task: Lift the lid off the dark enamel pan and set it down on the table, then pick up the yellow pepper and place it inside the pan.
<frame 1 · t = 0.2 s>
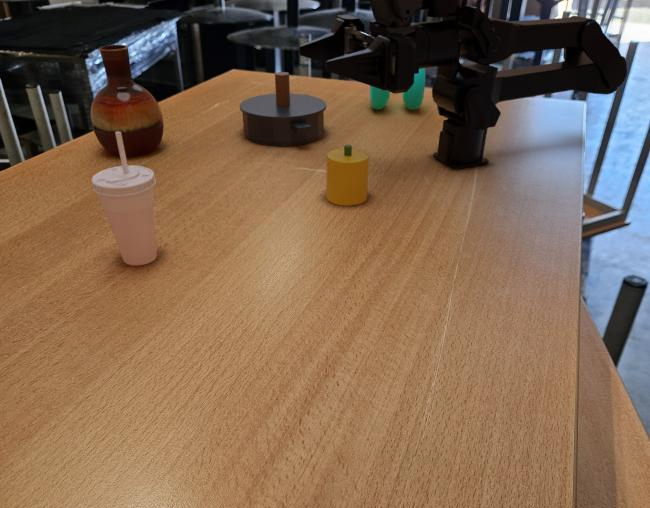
hand: (312, 58, 73), 17 cm above the table, tool horizontal, fingers open, 9 cm apart
pepper: (346, 197, 79), on the table
smoothie: (140, 259, 65), on the table
vase: (133, 150, 95), on the table
teal upright capsules: (394, 109, 115), on the table
pan: (284, 133, 102), on the table
pan lid: (283, 107, 99), point 4 cm above the table, touching pan
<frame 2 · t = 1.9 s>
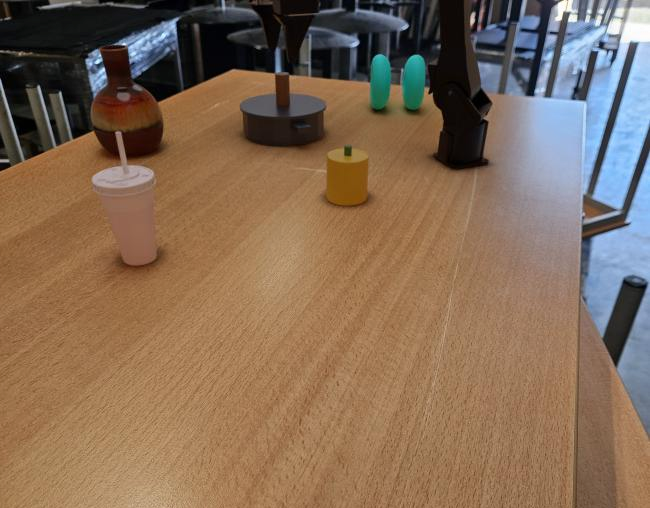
hand: (281, 56, 95), 13 cm above the table, tool pointing down, fingers open, 9 cm apart
nothing on the table moved.
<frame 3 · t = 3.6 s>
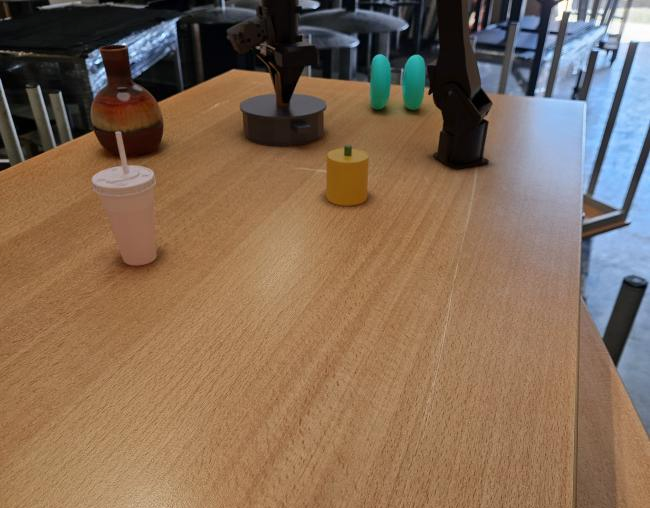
hand: (283, 101, 99), 6 cm above the table, tool pointing down, fingers closed on pan lid, 2 cm apart
pan lid: (283, 107, 99), point 4 cm above the table, touching gripper, pan
everything else where it was.
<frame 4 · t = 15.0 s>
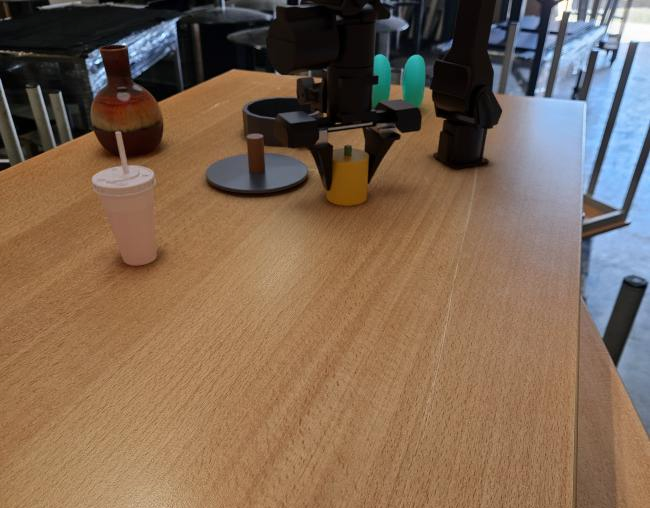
hand: (347, 186, 78), 2 cm above the table, tool pointing down, fingers closed on pepper, 5 cm apart
pepper: (346, 197, 79), on the table, touching gripper
pan lid: (257, 173, 85), point 1 cm above the table
everything else where it was.
when the fingers open (2 cm above the table, at t = 21.7 s): pepper stays where it is, resting on pan.
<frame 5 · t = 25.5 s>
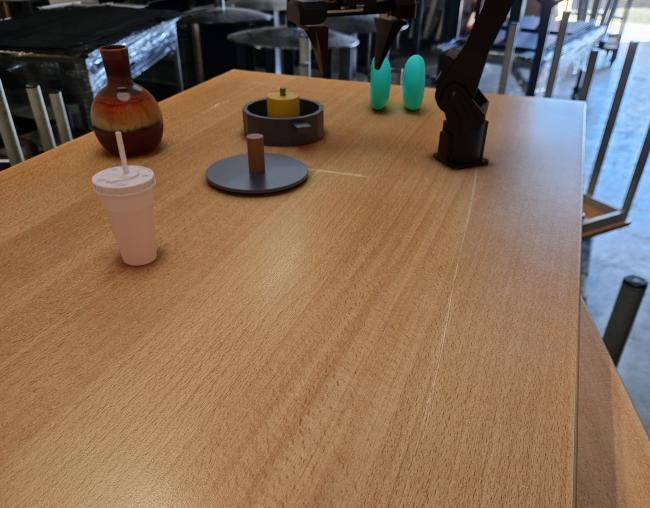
hand: (350, 72, 88), 12 cm above the table, tool pointing down, fingers open, 9 cm apart
pepper: (284, 130, 102), resting on pan
everything else where it was.
at the end: pan lid inside the target area (0.0 cm from its centre), point 0.6 cm above the table; pepper inside the target area in the pan (0.1 cm from its centre), point 0.5 cm above the pan's base; pepper tilted 0° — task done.
